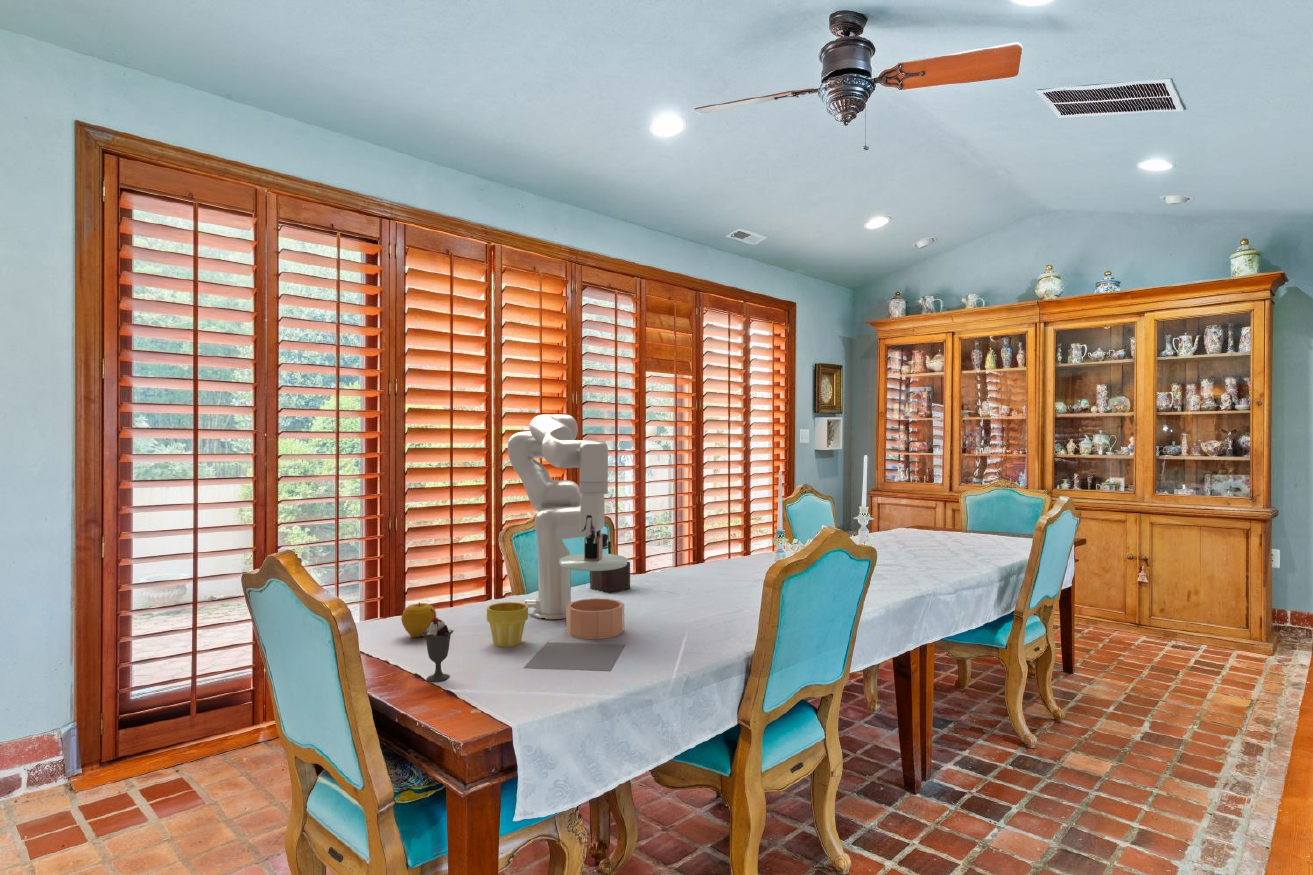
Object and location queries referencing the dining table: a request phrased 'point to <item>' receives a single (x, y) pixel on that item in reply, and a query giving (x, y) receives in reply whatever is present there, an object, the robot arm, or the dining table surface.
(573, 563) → the lid
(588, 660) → the mat
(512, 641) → the plant pot
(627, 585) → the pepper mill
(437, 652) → the sundae
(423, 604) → the apple
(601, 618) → the bowl
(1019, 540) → the dining table surface
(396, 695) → the dining table surface
